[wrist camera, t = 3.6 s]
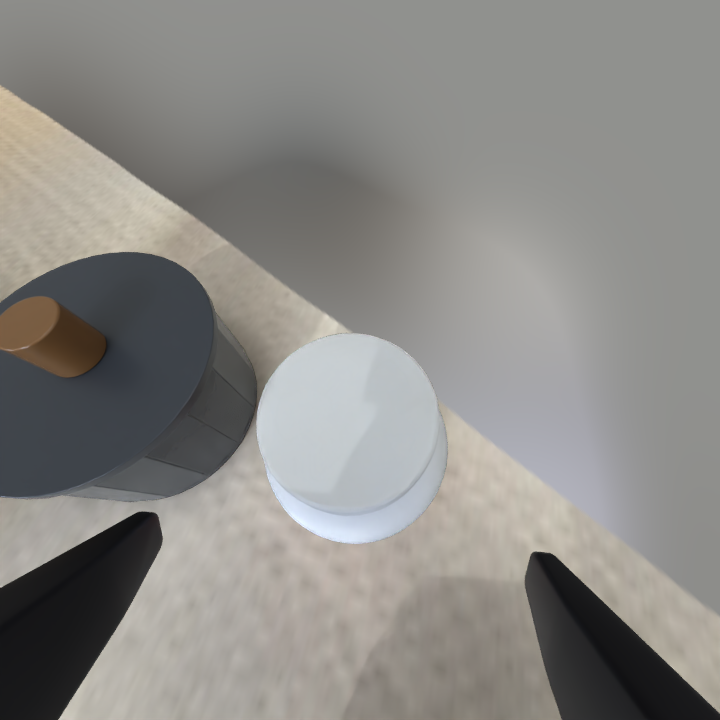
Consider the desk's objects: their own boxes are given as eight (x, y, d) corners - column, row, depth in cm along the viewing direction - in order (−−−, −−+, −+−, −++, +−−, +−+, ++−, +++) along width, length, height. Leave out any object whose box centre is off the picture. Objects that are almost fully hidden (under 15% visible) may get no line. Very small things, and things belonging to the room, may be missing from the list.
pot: (284, 437, 19) (245, 400, 14) (93, 542, 17) (-47, 550, 12) (224, 304, 24) (175, 234, 18) (66, 375, 22) (-45, 322, 16)
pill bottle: (310, 545, 17) (212, 572, 7) (304, 426, 20) (228, 324, 10) (432, 528, 17) (506, 532, 7) (409, 412, 20) (440, 296, 10)
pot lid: (261, 407, 14) (226, 372, 11) (-39, 564, 12) (-190, 577, 9) (185, 236, 19) (145, 177, 16) (-39, 327, 17) (-137, 280, 14)
